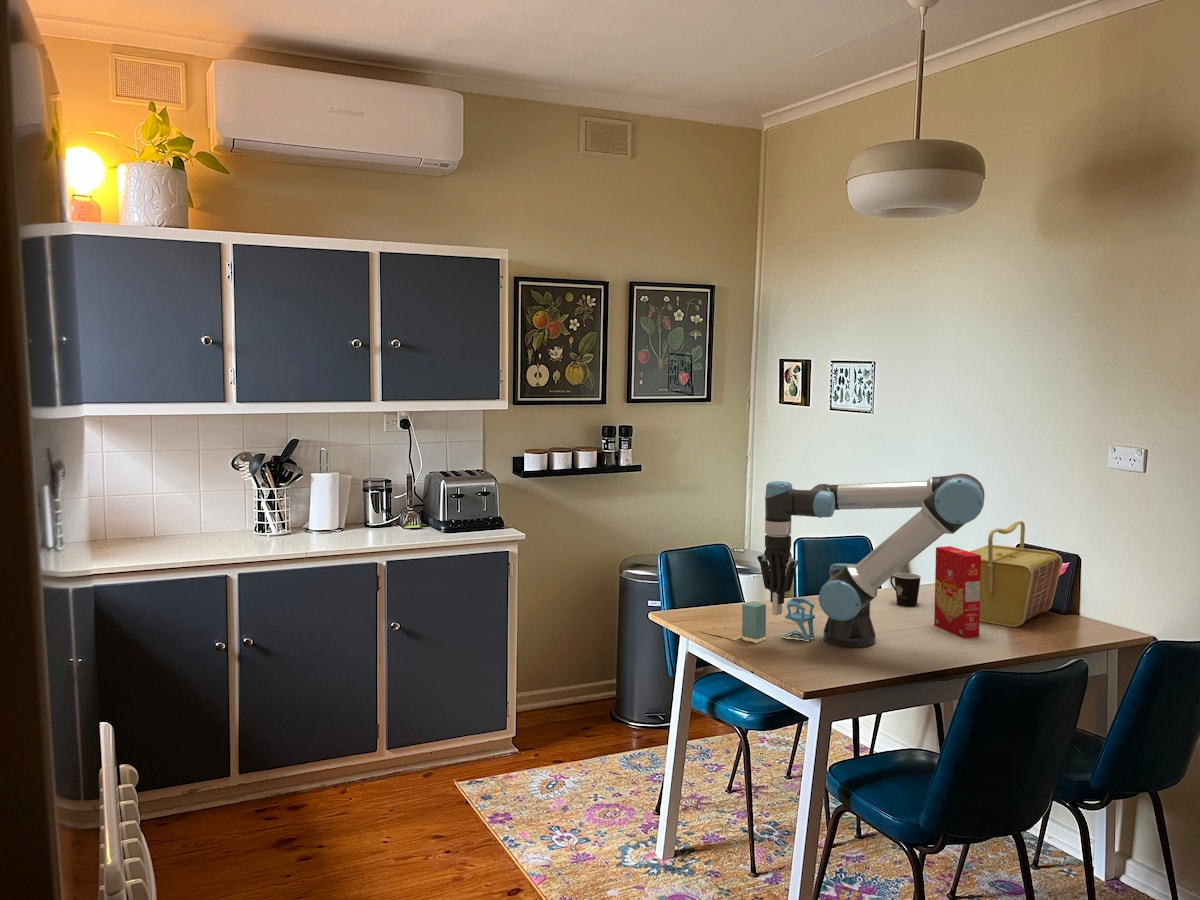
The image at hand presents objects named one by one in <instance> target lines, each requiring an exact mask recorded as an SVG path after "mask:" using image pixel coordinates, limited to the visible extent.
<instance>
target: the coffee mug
mask: <svg viewBox="0 0 1200 900" xmlns="http://www.w3.org/2000/svg"><path fill="white" fill-rule="evenodd" d="M921 578H922V576H921V575H919V574H915V573H911V572H909V573H908V572H907V573H906V572H905V573H904V572H903V573H901V572H900V573H895V574H894V575H893V576H892V577H891V578H889V580H890V584H891V587H892V589H894V591H895V595H896V604H897V606H899V607H903V608H904V607H905V608H916V607H917V605H918V598H919V591H920V584H921ZM893 579H894V583H893Z"/></svg>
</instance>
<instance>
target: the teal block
mask: <svg viewBox="0 0 1200 900" xmlns="http://www.w3.org/2000/svg"><path fill="white" fill-rule="evenodd" d="M741 605H742V606H741V608H742V610H741V614H742V615H741V616H742V617H741V618H742V620H741V624H742V625H741V628H742V629H741V631H742V636H744V637H748V638H752V639H755V640H756V639H760V638H763V637H765V636H766V637H767V621H766V620H767V604H766V603H762V602H757V601H748V602H746V603H743V604H741Z"/></svg>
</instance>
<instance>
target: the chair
mask: <svg viewBox="0 0 1200 900" xmlns="http://www.w3.org/2000/svg"><path fill="white" fill-rule="evenodd" d="M802 604H806V605H808V606H809V607H810V608H809V613H806V612H805V610H806V607H804V606H803V605H802ZM793 607H795V608H796V609H795V610H796V611H794V612H792V611H791V608H793ZM814 607H815V604H814V603H812V602H811V601H809V600H807V599H804V598H797V597H793V598H791V599H789V600H788V601H787V602H786V608H787V614H785V615H784V618H785V619H787V620H791V621H792V622H795V624H797V625H798V627H799V629H800V630H801V631H800V630H793V631H790V632H787V633H785V634H782V635H781V637H782V636H785V637H791V638H798V639H804V640H810V638H813V639H814V640H815V633H814V623H813V622H814V619H815V618H816V615H815V614H813V610H814ZM800 610H801V611H800ZM805 622H807V624H808V633H809V634H808V633H807V630H806V627H805V625H804V623H805ZM794 632H797V633H799V634H802V635H804V636H805V637H803V636H793V635H791V636H786V635H788V634H791V633H794ZM810 641H811V640H810Z"/></svg>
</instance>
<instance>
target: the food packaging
mask: <svg viewBox="0 0 1200 900" xmlns="http://www.w3.org/2000/svg"><path fill="white" fill-rule="evenodd" d="M934 569H935V573H934V576H935V577H934V580H935V581H934V582H935V583H934V618H933V619H934V620H933V621H934V622H933V623H934V627H937V628H939V629H941V630H944V631H945V632H949V633H950V634H952V635H954V636H958V637H959V638H961V639H972V638H980V624H981V623H980V622H981V621H980V583H981V555H979V554H975V553H972V552H970V551H969V550H964V549H961V548H957V547H954V546H950V545H949V546H937V547H935V568H934Z"/></svg>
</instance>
